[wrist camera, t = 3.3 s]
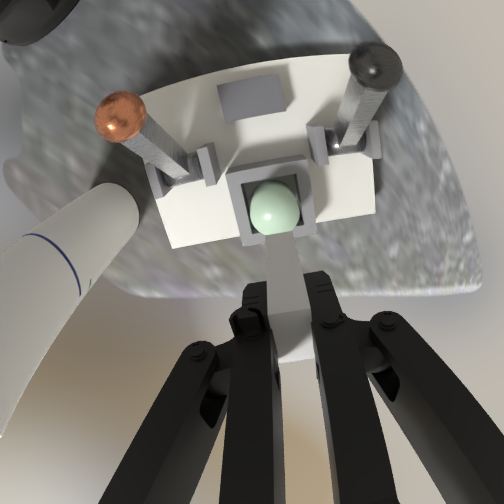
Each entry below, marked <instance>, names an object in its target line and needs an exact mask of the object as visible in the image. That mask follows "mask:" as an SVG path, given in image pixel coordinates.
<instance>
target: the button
mask: <svg viewBox="0 0 504 504" xmlns="http://www.w3.org/2000/svg"><path fill="white" fill-rule="evenodd" d="M299 215H300V212H299V207H298V204H297V201H296V199H295V196H294V194H293V192H292V190H291V188H290V187H289V186H288V185H286V184H285V183H283V182H281V181H277V180H269V181H265V182H263V183H261V184H260V185H258V186H257V187H256V189H255V190H254V192H253V194H252V197H251V208H250V218H251V221H252V224H253V225H254V227H255V228H256V229H257V230H258V231H259V232H260V233H262V234H264V235H270V234H276V233H282V232H288V231H291V230H293V228H294V227H295V226H296V224H297V223H298V220H299Z"/></svg>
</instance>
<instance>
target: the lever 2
mask: <svg viewBox="0 0 504 504" xmlns="http://www.w3.org/2000/svg"><path fill="white" fill-rule="evenodd" d="M348 66H349V70H350V73H351V75H350V78H349V81H348V84H347V87H346V90H345V93H344V96H343V99H342V102H341V105H340V108H339V111H338V114H337V117H336V120H335V123H334V126H332V127H324V133H325V139H326V146H327V153H328V156H336V155H344V154H353V153H362V152H364V150H365V137H364V131H365V130H366V128H367V126H368V125H369V123H370V121H371V120H372V118H373V116H374V115H375V113H376V111H377V109H378V108H379V106H380V104H381V103H382V101H383V99H384V97H385V96H386V94H387V92H388V91H389V90H391V89H393V88H395V87H396V86H397V85H398V84H399V82H400V81H401V78H402V75H403V66H402V62H401V60H400V58H399V56H398V54H397V53H396V52H395V51H394V50H393V49H392V48H391V47H389V46H388V45H386V44H384V43H381V42H378V41H365V42H362V43H360V44H358V45H357V46H355V47H354V48H353V50H352V51H351V53H350V55H349V60H348Z"/></svg>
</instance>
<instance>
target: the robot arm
mask: <svg viewBox="0 0 504 504" xmlns="http://www.w3.org/2000/svg"><path fill="white" fill-rule="evenodd" d="M77 2H78V0H0V41H1V42H3V43H5V44H8V45H16V46H25V45H29V44H32V43H34V42H36V41H38V40H40V39H41V38H43V37H44V36H46V35H47V34H48V33H50V32H51V31H52V30H53V29H54V28H55V27H56V26H57V25H58V24H59V23H60V22H61V21H62V20H63V19H64V18H65V17H66V16H67V15H68V14H69V12H70V11H71V10H72V9H73V7H74V6H75V5H76V3H77ZM265 245H266V275H267V281H263V282H256V283H250V284H247V286H246V287H245V289H244V290H243V297H242V299H243V300H242V307H241V308H239V309H237V310H235V312H233V313H232V314H231V316H230V318H229V322H230V325H231V328H232V331H233V333H234V338H233V339H231V340H230V341H228V342H226V343H224V344H220V345H218V346H214V345H212V344H211V343H210V342H207V341H197V342H195V343H192V344H190V345H189V346H187V347H186V348H185V349H184V351H183V352H182V354H181V356H180V357H179V359H178V361H177V362H176V364H175V366H174V368H173V369H172V371H171V373H170V375H169V377H168V378H167V380H166V382H165V384H164V385H163V387H162V389H161V391H160V392H159V394H158V396H157V398H156V400H155V401H154V403H153V405H152V407H151V409H150V410H149V412H148V414H147V416H146V417H145V419H144V421H143V423H142V425H141V426H140V428H139V430H138V432H137V434H136V435H135V437H134V439H133V441H132V443H131V444H130V446H129V448H128V450H127V452H126V453H125V455H124V457H123V459H122V461H121V463H120V465H119V466H118V468H117V470H116V472H115V474H114V475H113V477H112V479H111V481H110V483H109V485H108V486H107V488H106V490H105V492H104V494H103V496H102V498H101V499H100V501H99V503H98V504H190V501H191V499H192V496H193V494H194V492H195V489H196V487H197V485H198V482H199V480H200V478H201V475H202V473H203V470H204V468H205V465H206V463H207V460H208V458H209V456H210V453H211V450H212V448H213V446H214V443H215V441H216V438H217V436H218V433H219V430H220V428H221V425H222V423H223V420H224V418H225V415H226V412H227V417H226V428H225V439H224V450H223V461H222V474H221V484H220V496H219V504H286V501H285V469H284V443H283V420H282V400H281V382H280V381H281V380H280V371H279V367H278V362H279V363H285V362H293V361H299V360H306V359H312V358H315V360H316V373H317V379H318V383H319V389H320V396H321V402H322V409H323V416H324V422H325V430H326V438H327V445H328V452H329V461H330V469H331V478H332V489H333V499H334V504H400V503H399V501H398V499H397V494H396V489H395V484H394V478H393V474H392V469H391V464H390V460H389V456H388V451H387V447H386V443H385V439H384V435H383V432H382V427H381V423H380V419H379V416H378V412H377V408H376V405H375V401H374V398H373V394H372V391H371V387H370V384H369V381H368V378H369V379H370V381H371V382H372V384H373V385H374V387H375V388H376V390H377V392H378V393H379V395H380V396H381V398H382V399H383V401H384V403H385V404H386V406H387V407H388V409H389V410H390V412H391V413H392V415H393V416H394V418H395V420H396V421H397V423H398V424H399V426H400V428H401V429H402V431H403V432H404V434H405V436H406V437H407V439H408V440H409V442H410V444H411V445H412V447H413V449H414V450H415V452H416V453H417V455H418V456H419V458H420V460H421V462H422V463H423V465H424V466H425V468H426V470H427V471H428V473H429V475H430V476H431V478H432V480H433V482H434V483H435V485H436V487H437V488H438V490H439V492H440V493H441V495H442V497H443V499H444V500H445V502H446V504H504V435H503V434H502V433H501V431H500V430H499V428H498V427H497V426H496V424H495V423H494V422H493V421H492V419H491V418H490V417H489V415H488V414H487V413H486V411H485V410H484V409H483V408H482V406H481V405H480V404H479V403H478V401H477V400H476V399H475V398H474V396H473V395H472V394H471V393H470V392H469V391H468V389H467V388H466V387H465V386H464V384H463V383H462V382H461V381H460V380H459V378H458V377H457V376H456V375H455V374H454V373H453V372H452V370H451V369H450V368H449V367H448V366H447V365H446V364H445V363H444V361H443V360H442V359H441V358H440V357H439V356H438V355H437V353H436V352H435V351H434V350H433V349H432V348H431V347H430V346H429V345H428V344H427V342H425V340H424V339H423V338H422V337H421V336H420V335H419V334H418V333H417V332H416V331H415V330H414V328H413V327H412V326H411V325H410V324H409V323H408V322H407V321H406V320H405V319H404V318H403V317H402V316H401V315H399V314H398V313H395V312H392V311H383V312H379V313H377V314H375V315H374V316H373V317H372V319H371V320H370V321H357V320H353V319H350V318H348V317H347V316H346V314H345V313H343V312H342V310H341V307H340V304H339V302H338V298H337V296H336V293H335V290H334V287H333V285H332V282H331V279H330V276H329V275H328V274H326V273H325V272H324V271H318V272H312V273H306V274H303V273H302V268H301V264H300V260H299V256H298V252H297V248H296V244H295V240H294V236H293V232H292V231H288V232H282V233H276V234H270V235H265ZM367 376H368V377H367Z"/></svg>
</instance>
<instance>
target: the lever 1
mask: <svg viewBox="0 0 504 504" xmlns="http://www.w3.org/2000/svg"><path fill="white" fill-rule="evenodd" d="M94 120H95V127H96V129H97V131H98V133H99V134H100V136H101V137H103V138H104V139H105V140H107V141H110V142H114V143H121V144H122V145H124V146H126V147H127V148H129V149H130V150H132V151H133V152H135V153H136V154H138V155H139V156H141V157H142V158H144V159H145V160H147V161H148V162H150V163H151V164H153V165H154V166H156V167H157V168H159V169H160V170H162V172H163V177H164V180H165V182H166V184H167V185H168V186H169V187H175V186H179V185H183V184H187V183H191V182H195V181H199V180H203V179H204V176H203V172H202V169H201V165H200V161H199V157H198V153H197V151H196V152H192V153H187V152H186V151H185V150H184V149H183V148H182V147H181V146H180V145H179V144H178V143H177V142H176V141H175V140H174V139H173V138H172V137H171V136H170V135H169V134H168V133H167V132H166V131H165V130H164V129H163V128H162V127H161V126H160V125H159V124H158V123H157V122H156V121H155V120H154V119H153V118H152V117H151V116H150V115H149V114H148V113H147V111H146V106H145V104H144V102H143V100H142V99H141V98H140V97H139V96H138V95H137V94H135V93H133V92H130V91H117V92H114V93H112V94H110V95H108V96H107V97H105V98H104V99H103V100H102V101H101V103H100V104H99V106H98V107H97V110H96V113H95V119H94Z"/></svg>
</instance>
